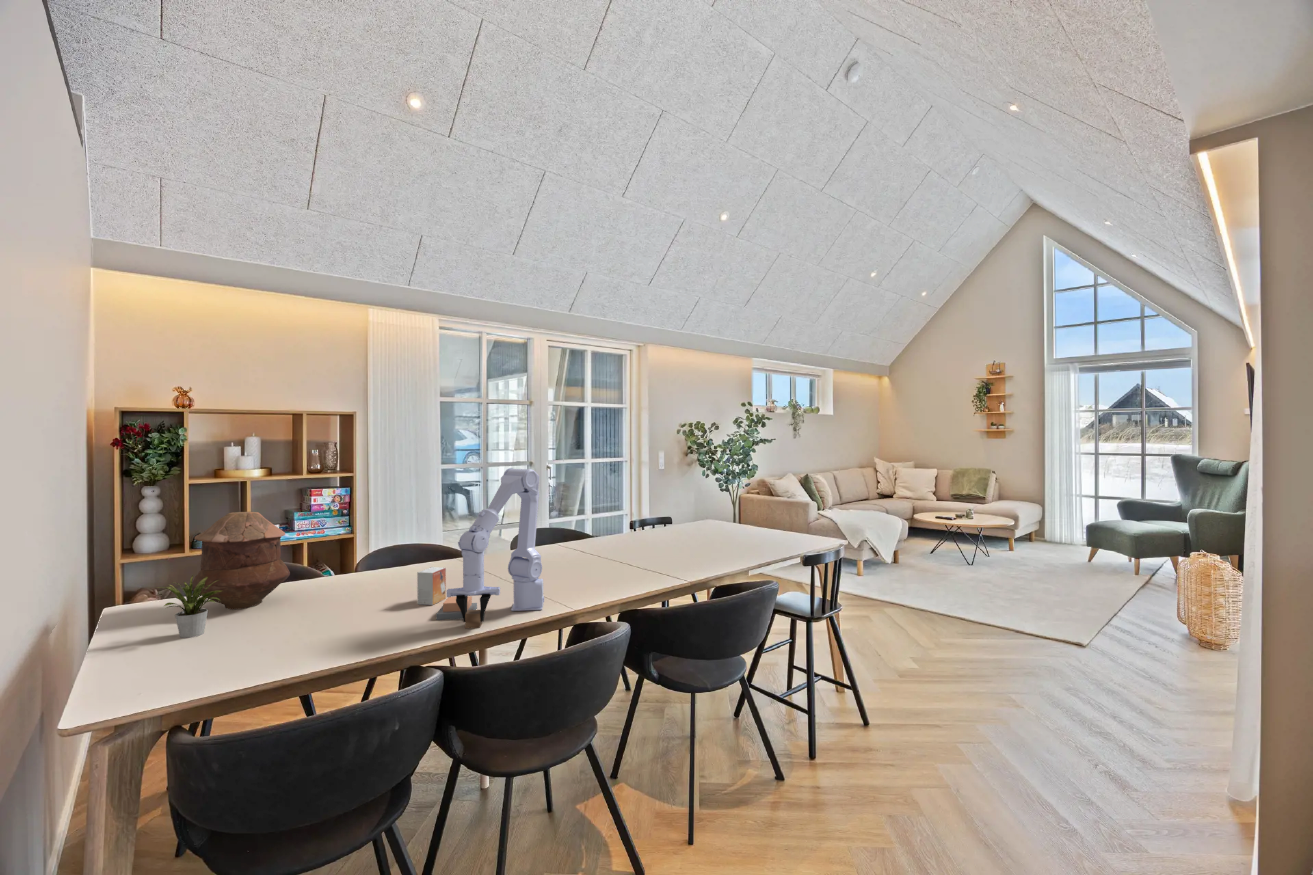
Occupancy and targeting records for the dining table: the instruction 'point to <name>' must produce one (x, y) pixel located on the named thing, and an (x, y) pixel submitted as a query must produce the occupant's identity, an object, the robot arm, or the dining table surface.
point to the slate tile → (452, 613)
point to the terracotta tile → (454, 604)
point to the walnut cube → (472, 619)
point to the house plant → (192, 609)
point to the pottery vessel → (241, 559)
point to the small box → (431, 585)
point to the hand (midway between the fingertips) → (473, 620)
